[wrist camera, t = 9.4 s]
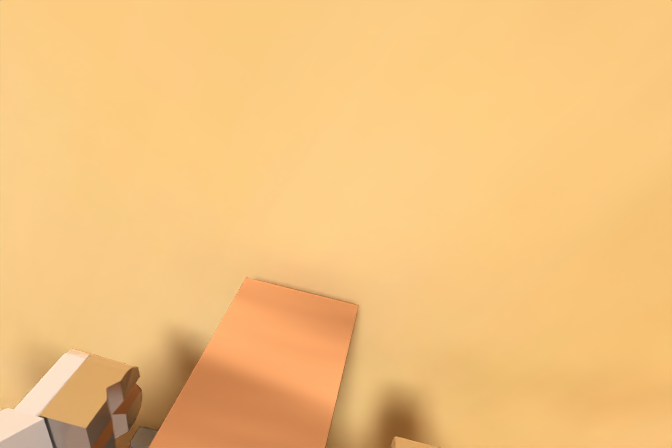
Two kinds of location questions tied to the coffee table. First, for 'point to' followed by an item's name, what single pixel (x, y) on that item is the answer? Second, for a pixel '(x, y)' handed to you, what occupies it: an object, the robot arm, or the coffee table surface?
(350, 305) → the block
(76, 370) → the robot arm
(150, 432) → the grey slotted base
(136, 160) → the coffee table surface
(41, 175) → the coffee table surface
